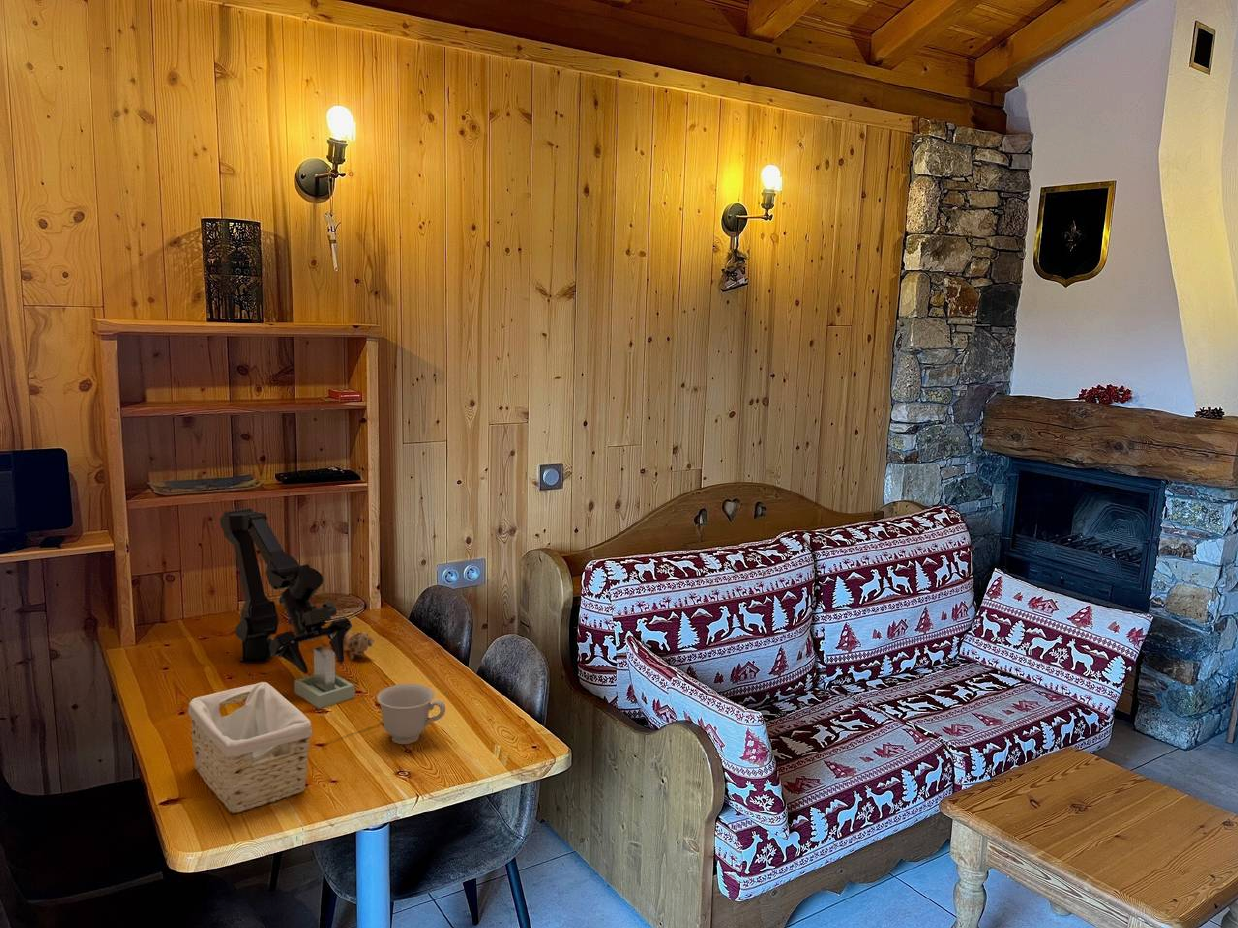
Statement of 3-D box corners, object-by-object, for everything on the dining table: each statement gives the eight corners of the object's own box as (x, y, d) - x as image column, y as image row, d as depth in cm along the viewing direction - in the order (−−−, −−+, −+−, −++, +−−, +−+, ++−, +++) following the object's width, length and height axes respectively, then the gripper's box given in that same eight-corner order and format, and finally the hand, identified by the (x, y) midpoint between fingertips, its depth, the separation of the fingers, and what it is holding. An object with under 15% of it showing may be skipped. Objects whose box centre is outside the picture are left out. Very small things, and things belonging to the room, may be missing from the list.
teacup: (432, 757, 190) (433, 712, 188) (366, 746, 193) (367, 702, 191) (454, 731, 202) (455, 689, 200) (391, 721, 204) (392, 680, 203)
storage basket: (186, 766, 181) (184, 697, 178) (268, 743, 192) (267, 678, 189) (228, 821, 164) (226, 746, 161) (315, 793, 174) (315, 722, 172)
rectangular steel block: (314, 692, 213) (314, 648, 211) (323, 689, 215) (323, 646, 213) (325, 699, 210) (325, 654, 208) (334, 696, 212) (334, 652, 210)
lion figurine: (376, 665, 234) (376, 632, 232) (357, 670, 230) (357, 637, 229) (347, 648, 244) (348, 616, 243) (329, 652, 240) (329, 620, 239)
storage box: (294, 696, 213) (294, 680, 212) (329, 685, 219) (329, 670, 219) (319, 712, 206) (319, 696, 205) (354, 701, 212) (354, 685, 211)
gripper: (274, 601, 205) (300, 662, 199) (348, 585, 218) (373, 641, 213) (258, 625, 211) (282, 684, 206) (330, 608, 225) (355, 663, 220)
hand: (324, 667), depth 211 cm, fingers open, 9 cm apart
